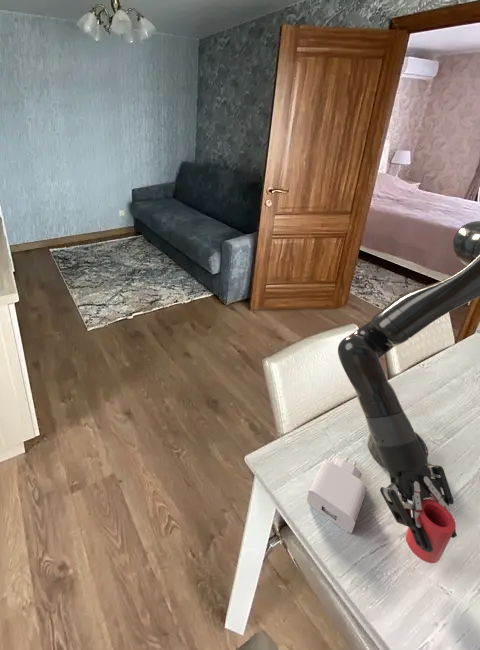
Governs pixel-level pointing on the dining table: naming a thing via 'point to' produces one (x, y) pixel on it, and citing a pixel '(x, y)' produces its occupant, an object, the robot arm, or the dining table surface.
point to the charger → (338, 493)
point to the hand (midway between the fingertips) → (438, 542)
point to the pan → (376, 455)
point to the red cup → (433, 530)
